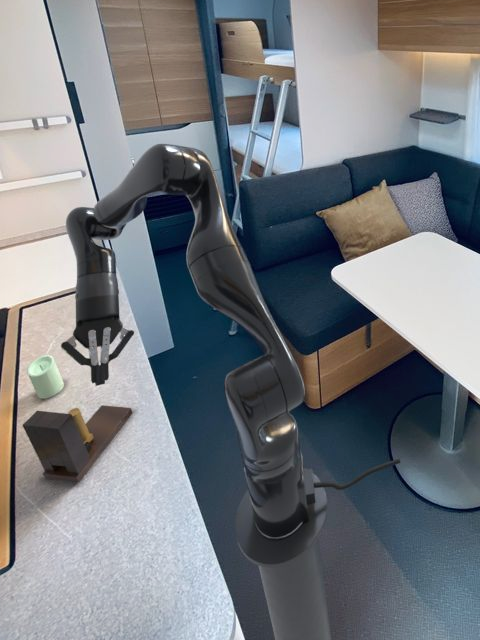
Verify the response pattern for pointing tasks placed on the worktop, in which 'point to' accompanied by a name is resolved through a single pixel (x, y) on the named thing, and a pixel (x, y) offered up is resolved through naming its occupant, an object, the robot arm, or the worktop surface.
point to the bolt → (81, 425)
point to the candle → (45, 377)
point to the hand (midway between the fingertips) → (100, 384)
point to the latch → (72, 440)
